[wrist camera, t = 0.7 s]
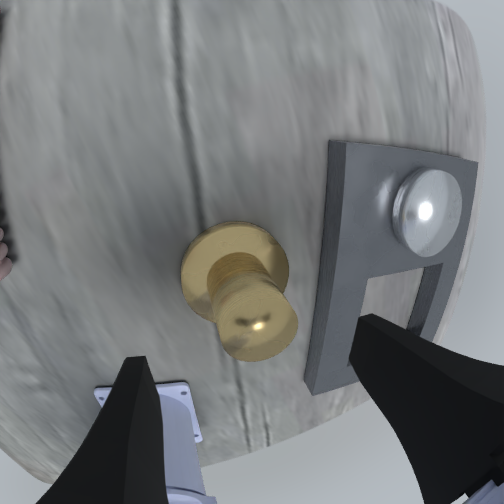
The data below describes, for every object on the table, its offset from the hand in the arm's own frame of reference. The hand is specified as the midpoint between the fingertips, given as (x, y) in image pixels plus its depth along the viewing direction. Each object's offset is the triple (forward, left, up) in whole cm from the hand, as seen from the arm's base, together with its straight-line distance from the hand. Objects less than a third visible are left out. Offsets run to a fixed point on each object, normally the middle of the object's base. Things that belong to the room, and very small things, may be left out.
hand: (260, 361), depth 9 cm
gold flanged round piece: (-2, -1, -10) cm, 10 cm away
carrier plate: (-4, -14, -9) cm, 17 cm away
